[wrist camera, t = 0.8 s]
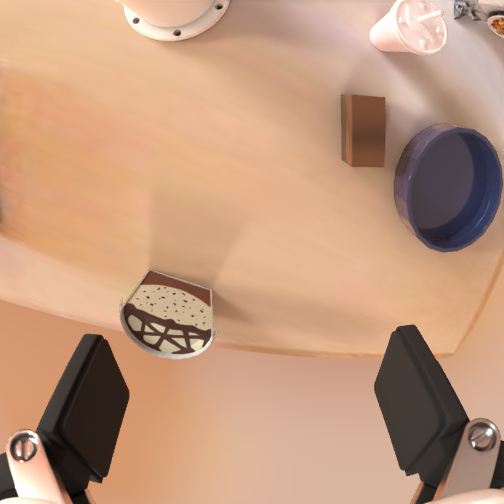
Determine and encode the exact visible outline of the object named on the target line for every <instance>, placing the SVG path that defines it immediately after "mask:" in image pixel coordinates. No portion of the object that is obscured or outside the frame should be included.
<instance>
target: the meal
mask: <svg viewBox="0 0 504 504" xmlns="http://www.w3.org/2000/svg"><path fill="white" fill-rule="evenodd" d="M454 13H455V18H454V19H457V18H460V17H462V16H464V15H468V16H470V17H471V19H472V20H475V21H478V20H482V21H485V22H487V24H488V26H489V28H490V29H491V30H492V31H493V32H494V33H496V34H497V35H499V36H500V37H502V38H503V39H504V0H456V1H455V5H454ZM491 26H492V27H491ZM497 31H498V32H499V33H500V34H501V35H500V34H498V32H497Z"/></svg>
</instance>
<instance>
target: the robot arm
mask: <svg viewBox="0 0 504 504" xmlns="http://www.w3.org/2000/svg"><path fill="white" fill-rule="evenodd" d="M116 1H117V2H119V3H120V4H122V5H123V6H124V12H125V15H126V18H127V20H128V22H129V23H130V24H131V26H132V27H133V28H134V29H135V30H137V31H138V32H139V33H141V34H142V35H144V36H146V37H149V38H151V39H155V40H159V41H178V40H184V39H188V38H191V37H194V36H196V35H198V34H201V33H203V32H204V31H206V30H207V29H209V28H210V27H212V26H213V25H214V24H215V23H216V22H217V21H218V20H219V19H220V18H221V17H222V15H223V14H224V13H225V11H226V9H227V8H228V6H229V3H230V0H116ZM218 7H222V9H220V10H218V9H217V8H218ZM137 21H139V22H138V23H137ZM177 33H181V34H180V36H177ZM374 390H375V394H376V397H377V400H378V403H379V406H380V409H381V411H382V414H383V417H384V420H385V423H386V426H387V429H388V432H389V435H390V438H391V441H392V445H393V448H394V451H395V454H396V457H397V460H398V463H399V467H400V469H401V470H405V472H406V475H407V476H410V475H413V474H416V473H419V476H420V479H421V482H420V484H419V486H418V488H417V490H416V492H415V494H414V496H413V498H412V500H411V502H410V504H504V441H502V440H501V436H500V431H499V429H498V428H497V426H496V425H495V424H494V423H493V422H492V421H490V420H488V419H484V418H476V419H474V420H472V421H470V420H469V418H468V416H467V414H466V412H465V410H464V408H463V406H462V404H461V403H460V401H459V399H458V397H457V395H456V393H455V391H454V389H453V387H452V386H451V384H450V382H449V380H448V378H447V376H446V375H445V373H444V371H443V369H442V368H441V366H440V364H439V363H438V361H437V360H436V359H435V357H434V355H433V354H432V352H431V350H430V349H429V347H428V345H427V344H426V342H425V340H424V339H423V337H422V335H421V334H420V332H419V330H418V329H417V327H416V326H415V325H406V326H399V327H397V328H396V331H393V332H392V334H391V337H390V340H389V343H388V346H387V349H386V352H385V355H384V358H383V361H382V364H381V367H380V370H379V373H378V375H377V378H376V381H375V384H374ZM128 401H129V389H128V387H127V385H126V383H125V381H124V378H123V376H122V374H121V372H120V369H119V367H118V365H117V362H116V360H115V358H114V355H113V353H112V350H111V348H110V345H109V343H108V341H107V340H106V339H104V338H103V336H102V335H97V334H85V335H84V336H83V337H82V339H81V341H80V343H79V345H78V346H77V348H76V350H75V352H74V354H73V356H72V357H71V359H70V361H69V363H68V365H67V367H66V369H65V371H64V373H63V375H62V377H61V379H60V381H59V383H58V385H57V387H56V389H55V391H54V393H53V395H52V397H51V399H50V401H49V403H48V405H47V407H46V410H45V412H44V414H43V416H42V418H41V420H40V423H39V425H38V427H37V430H36V432H34V431H32V430H30V429H22V430H18V431H16V432H15V433H13V435H11V436H10V438H9V440H8V442H7V446H6V452H5V453H3V454H1V455H0V504H96V503H95V501H94V500H93V498H92V496H91V494H90V492H89V490H88V489H87V487H88V483H89V480H90V481H93V482H97V483H102V480H103V477H106V476H107V475H108V472H109V468H110V464H111V460H112V457H113V453H114V449H115V445H116V441H117V438H118V435H119V431H120V428H121V424H122V421H123V417H124V414H125V411H126V407H127V404H128Z"/></svg>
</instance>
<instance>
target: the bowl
mask: <svg viewBox="0 0 504 504" xmlns="http://www.w3.org/2000/svg"><path fill="white" fill-rule="evenodd" d="M502 188H503V179H502V167H501V164H500V161H499V158H498V155H497V152H496V150H495V149H494V148H493V146H492V145H491V143H490V142H489V141H488V139H487V138H486V137H484V136H483V135H481V134H480V133H478V132H477V131H475V130H474V129H470V128H466V127H462V126H458V125H452V124H437V125H434V126H431V127H428V128H426V129H424V130H423V131H421V132H420V133H419V134H417V135H416V136H415V137H414V138H413V139H412V140H411V142H410V143H409V144H408V145H407V147H406V148H405V150H404V152H403V154H402V156H401V158H400V160H399V163H398V166H397V169H396V174H395V180H394V197H395V203H396V208H397V210H398V213H399V215H400V217H401V219H402V221H403V223H404V224H405V225H406V227H407V228H408V229H409V230H410V231H411V232H412V233H413V234H414V235H415V236H416V237H417V238H418V239H419V240H420V241H422V242H423V243H424V244H425V245H426V246H427V247H428V248H430V249H434V250H437V251H440V252H453V251H458V250H461V249H463V248H465V247H467V246H469V245H471V244H472V243H474V242H475V241H476V240H477V239H478V238H479V237H481V236H482V235H483V234H484V232H485V231H486V230H487V228H488V227H489V225H490V224H491V222H492V221H493V219H494V217H495V214H496V212H497V209H498V207H499V204H500V200H501V194H502Z"/></svg>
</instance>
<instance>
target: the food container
mask: <svg viewBox="0 0 504 504" xmlns="http://www.w3.org/2000/svg"><path fill="white" fill-rule="evenodd" d="M119 312H120V320H121V324H122V327H123V329H124V331H125V332H126V334H127V335H128V337H129V338H130V339H131V340H132V341H133V342H134V343H135V344H136V345H137V346H139V347H140V348H142V349H143V350H145V351H146V352H148V353H150V354H153V355H155V356H158V357H162V358H167V359H186V358H191V357H193V356H196V355H198V354H200V353H202V352H203V351H204V350H206V349H207V348H208V347H209V346H210V344H211V343H212V342H213V340H214V339H215V337H216V335H217V332H218V330H217V331H216V332H215V334H214V335H213V304H212V289H209V288H206V287H203V286H200V285H197V284H193V283H190V282H187V281H184V280H181V279H178V278H175V277H172V276H169V275H166V274H163V273H161V272H158V271H155V270H152V269H149V270H148V271H147V272H146V274H145V275H144V276H143V278H142V279H141V280H140V282H139V283H138V284H137V286H136V287H135V289H134V290H133V291H132V293H131V294H130V296H129V297H128V298H127V300H126V301H125V303H124V304H123V305H122V298H121V302H120V311H119Z"/></svg>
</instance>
